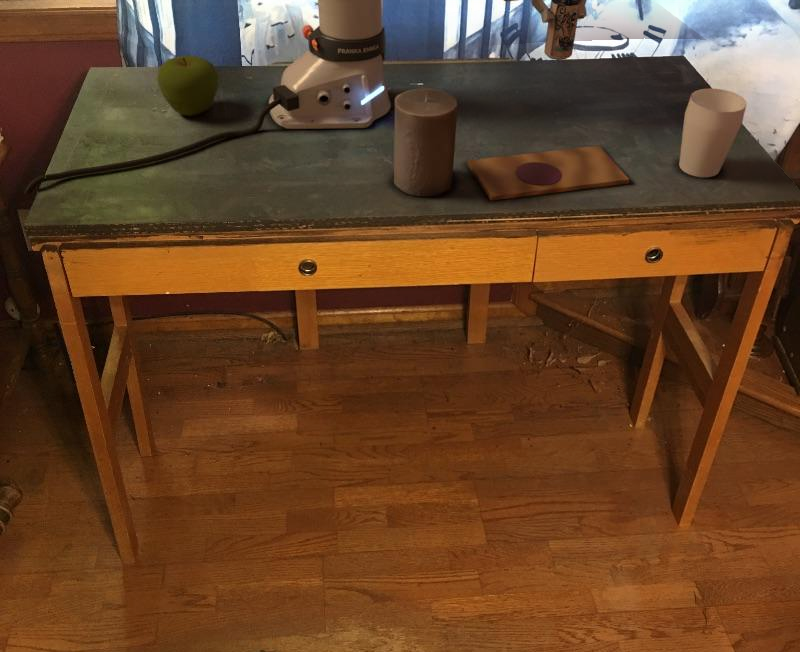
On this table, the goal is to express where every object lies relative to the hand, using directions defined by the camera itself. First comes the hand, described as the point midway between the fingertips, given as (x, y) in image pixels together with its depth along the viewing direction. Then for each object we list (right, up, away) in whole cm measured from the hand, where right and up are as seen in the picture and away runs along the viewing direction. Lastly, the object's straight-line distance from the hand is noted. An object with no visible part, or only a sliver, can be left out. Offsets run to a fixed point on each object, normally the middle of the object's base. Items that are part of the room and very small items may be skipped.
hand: (564, 19), depth 144 cm
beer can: (0, -4, +5) cm, 7 cm away
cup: (+23, -25, +2) cm, 34 cm away
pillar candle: (-24, -28, -4) cm, 37 cm away
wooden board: (-3, -26, -1) cm, 26 cm away
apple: (-65, -11, +13) cm, 68 cm away
